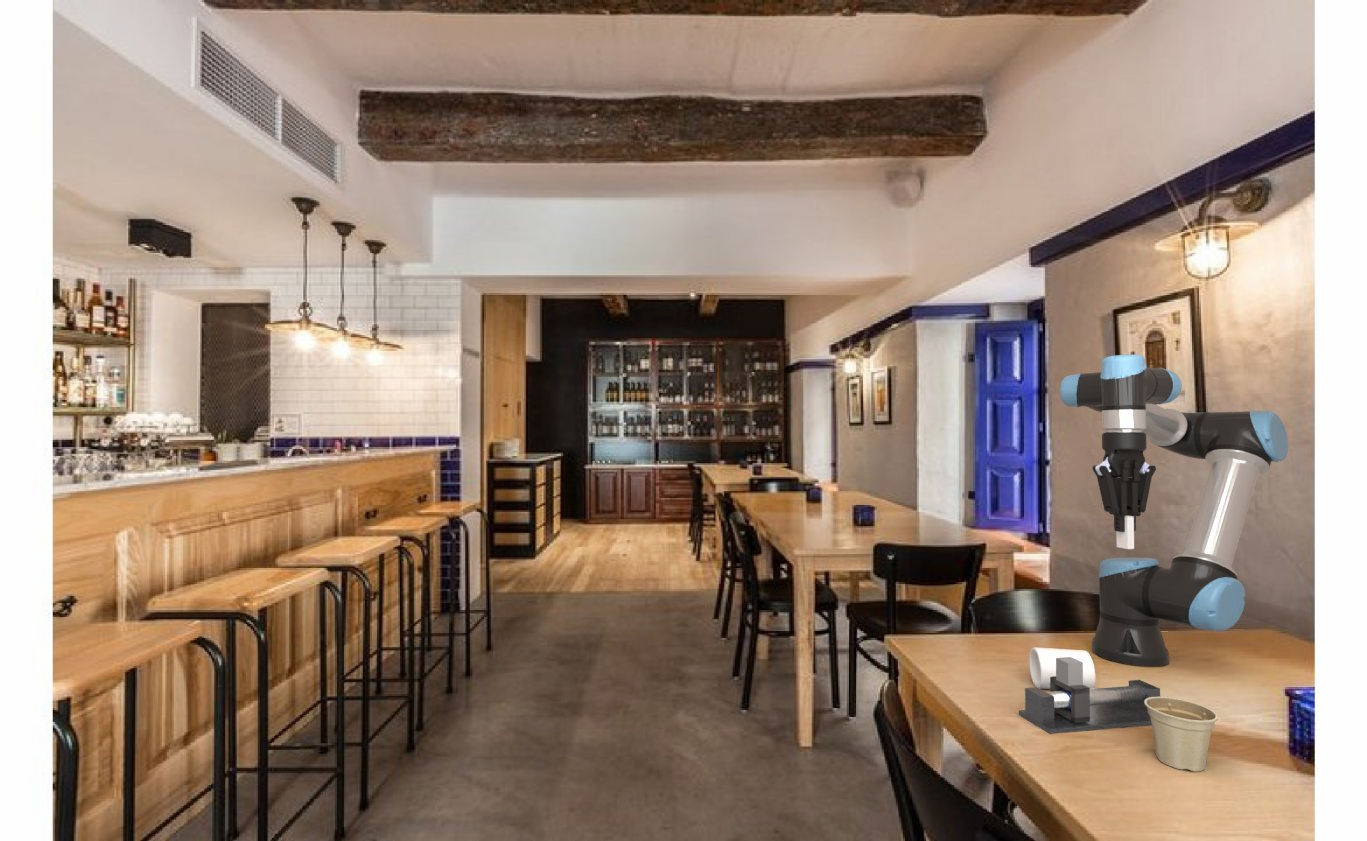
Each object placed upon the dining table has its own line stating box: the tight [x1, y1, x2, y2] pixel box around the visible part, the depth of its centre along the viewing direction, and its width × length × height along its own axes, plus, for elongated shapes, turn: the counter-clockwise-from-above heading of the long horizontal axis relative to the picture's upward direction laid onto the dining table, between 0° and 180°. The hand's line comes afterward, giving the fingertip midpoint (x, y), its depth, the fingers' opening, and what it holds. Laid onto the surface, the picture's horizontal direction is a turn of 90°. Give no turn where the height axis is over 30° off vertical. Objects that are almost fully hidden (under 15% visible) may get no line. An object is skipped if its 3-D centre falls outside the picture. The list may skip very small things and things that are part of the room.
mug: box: [1028, 646, 1096, 690], centre depth 137 cm, size 12×10×8 cm
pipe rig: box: [1018, 679, 1161, 735], centre depth 121 cm, size 24×8×6 cm, turn 100°
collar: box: [1049, 657, 1090, 723], centre depth 120 cm, size 3×6×10 cm, turn 10°
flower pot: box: [1144, 696, 1219, 773], centre depth 105 cm, size 9×9×9 cm
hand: (1125, 547), depth 133 cm, fingers closed
